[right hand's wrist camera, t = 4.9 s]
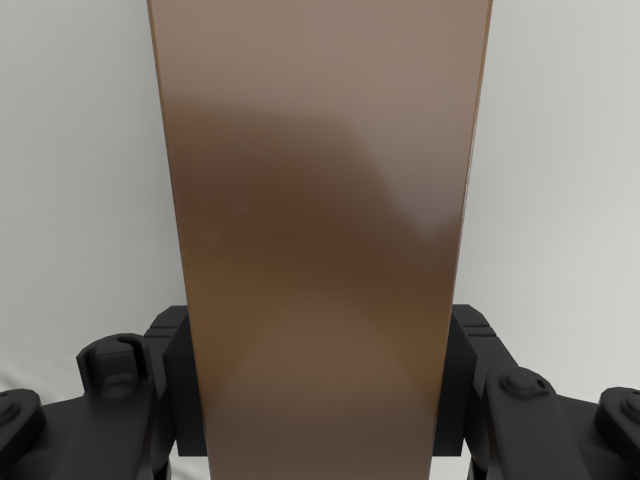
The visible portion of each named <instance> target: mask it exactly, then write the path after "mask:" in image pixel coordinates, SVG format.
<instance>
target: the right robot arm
mask: <svg viewBox="0 0 640 480" xmlns="http://www.w3.org/2000/svg"><path fill="white" fill-rule="evenodd" d="M76 359H77V363H78V367H79V371H80V375H81V379H82V383H83V386H84V390H85V392H84V395H83V396H81V397H78V398H74V399H70V400H66V401H61V402H57V403H52V404H48V405H43V406H42V404H41V401H40V397H39V395H38V394H37V393H35V392H34V391H33V390H28V389H15V390H7V391H4V392H0V480H171V467H170V461H169V454H170V452H171V449H172V447H173V444H174V442H175V440H176V442H177V448H178V454H179V456H208V455H207V447H206V440H205V432H204V425H203V417H202V410H201V402H200V395H199V387H198V380H197V373H196V365H195V358H194V350H193V343H192V335H191V328H190V320H189V313H188V306H171V307H169V308H168V309H166V310H165V311H163V312H162V313H161V314H159V315H158V316H157V317H156V319H155V320H154V322H153V323H152V324H151V326H150V329H148V330H147V332H146V333H145V334H144V337H143V336H141V335H137V334H133V333H124V334H116V335H111V336H107V337H104V338H102V339H99V340H97V341H95V342H93V343H91V344H90V345H88V346H87V347H85V348H84V349H82V351H81V352H80V353H79V354H78V356H77V357H76ZM464 438H465V441H466V443H467V446H468V448H469V450H470V453H471V461H470V466H469V472H468V477H467V480H640V390H636V389H632V388H624V387H614V388H608V389H606V390H605V391H604V392H603V393H601V396H600V400H599V403H598V404H596V403H591V402H587V401H582V400H577V399H573V398H568V397H565V396H561V395H558V394H556V392H555V390H554V389H553V387H552V386H551V384H550V383H549V382H548V381H547V380H546V379H544V378H543V377H542V376H540V375H539V374H537V373H535V372H533V371H531V370H529V369H526V368H523V367H519V366H518V364H517V363H516V362H515V360H514V359H513V357H512V356H511V354H510V353H509V352H508V350H507V349H506V347H505V346H504V344H503V343H502V342H501V340H500V339H499V337H497V336H496V333H495V332H494V330H493V329H492V327H490V325H489V323H488V322H487V320H486V319H485V317H484V316H483V315H482V314H481V313H480V312H478V311H477V310H476V309H474V308H473V307H471V306H470V305H468V304H452V310H451V318H450V325H449V333H448V340H447V348H446V355H445V363H444V370H443V378H442V385H441V393H440V400H439V408H438V415H437V423H436V430H435V438H434V445H433V453H432V456H461V452H462V446H463V440H464Z"/></svg>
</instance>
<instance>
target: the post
mask: <svg viewBox="0 0 640 480" xmlns="http://www.w3.org/2000/svg"><path fill="white" fill-rule="evenodd" d="M492 4H493V0H147V6H148V14H149V21H150V29H151V36H152V44H153V51H154V59H155V66H156V74H157V81H158V89H159V96H160V104H161V111H162V118H163V126H164V133H165V141H166V148H167V156H168V163H169V171H170V178H171V186H172V193H173V201H174V208H175V216H176V223H177V231H178V238H179V245H180V253H181V260H182V268H183V275H184V283H185V290H186V298H187V305H188V313H189V320H190V328H191V335H192V343H193V350H194V358H195V365H196V373H197V380H198V387H199V395H200V402H201V410H202V417H203V425H204V432H205V440H206V447H207V455H208V462H209V470H210V477H211V480H429V475H430V468H431V460H432V453H433V445H434V438H435V430H436V423H437V415H438V408H439V400H440V393H441V385H442V378H443V370H444V363H445V355H446V348H447V340H448V333H449V325H450V318H451V310H452V303H453V296H454V288H455V281H456V273H457V266H458V258H459V251H460V243H461V236H462V228H463V221H464V213H465V206H466V198H467V191H468V183H469V176H470V168H471V161H472V153H473V146H474V138H475V131H476V123H477V116H478V108H479V101H480V94H481V86H482V79H483V71H484V64H485V56H486V49H487V41H488V34H489V26H490V19H491V11H492Z"/></svg>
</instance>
